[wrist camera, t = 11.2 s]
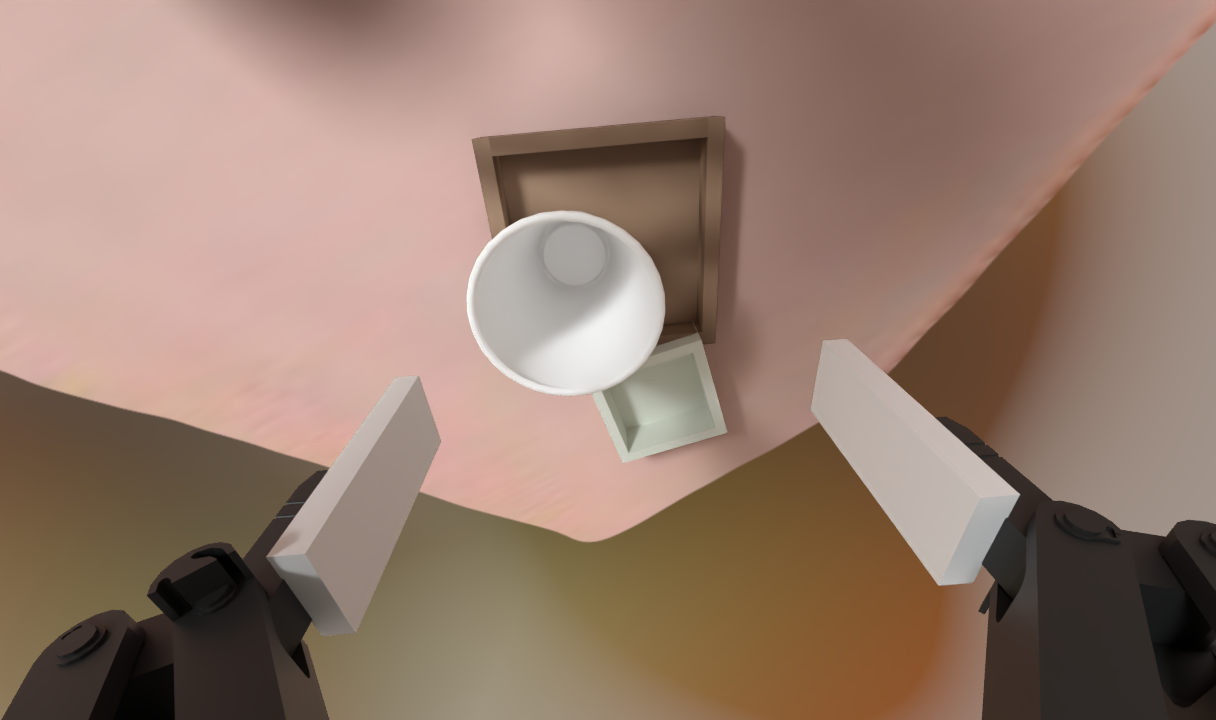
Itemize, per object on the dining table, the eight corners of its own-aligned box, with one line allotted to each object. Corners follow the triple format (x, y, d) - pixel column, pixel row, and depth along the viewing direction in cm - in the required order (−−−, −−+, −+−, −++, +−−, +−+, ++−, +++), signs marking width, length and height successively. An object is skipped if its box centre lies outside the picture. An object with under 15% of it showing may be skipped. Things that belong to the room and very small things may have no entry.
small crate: (585, 352, 37) (584, 377, 33) (690, 317, 35) (701, 339, 32) (620, 433, 41) (622, 463, 37) (715, 404, 40) (727, 432, 36)
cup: (631, 165, 29) (650, 189, 19) (653, 304, 34) (677, 379, 24) (485, 197, 30) (434, 236, 20) (527, 328, 35) (502, 411, 25)
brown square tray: (481, 136, 29) (471, 139, 26) (713, 116, 29) (725, 116, 26) (522, 343, 36) (516, 360, 34) (706, 327, 36) (715, 343, 33)
